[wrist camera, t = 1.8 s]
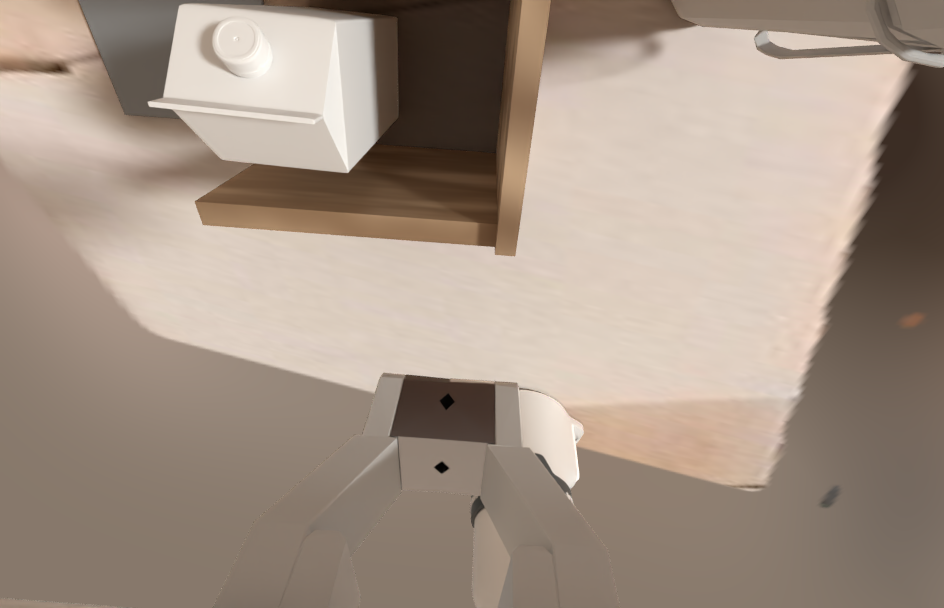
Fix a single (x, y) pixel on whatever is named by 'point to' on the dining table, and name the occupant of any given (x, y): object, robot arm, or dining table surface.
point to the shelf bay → (409, 174)
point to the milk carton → (284, 82)
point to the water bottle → (832, 24)
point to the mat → (139, 46)
